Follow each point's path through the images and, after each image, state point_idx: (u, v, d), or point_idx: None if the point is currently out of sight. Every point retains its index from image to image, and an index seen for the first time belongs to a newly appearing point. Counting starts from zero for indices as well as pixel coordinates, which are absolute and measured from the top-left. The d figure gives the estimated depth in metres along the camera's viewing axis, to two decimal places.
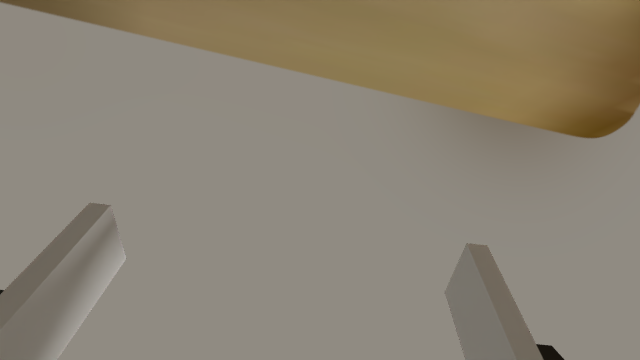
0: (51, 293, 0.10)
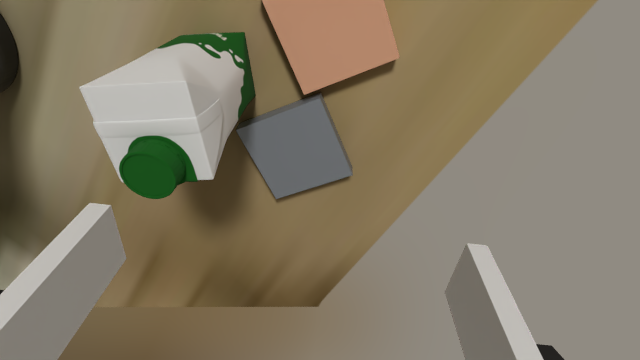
0: (51, 293, 0.10)
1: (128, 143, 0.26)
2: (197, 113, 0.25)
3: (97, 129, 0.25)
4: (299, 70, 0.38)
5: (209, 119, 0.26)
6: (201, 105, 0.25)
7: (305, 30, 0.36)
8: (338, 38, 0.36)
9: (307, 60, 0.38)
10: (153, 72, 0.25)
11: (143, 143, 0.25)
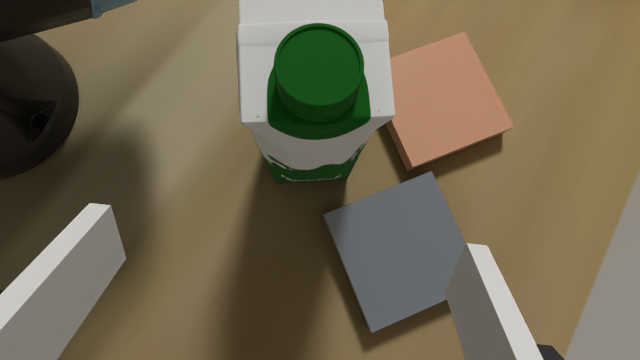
0: (51, 293, 0.10)
1: None
2: None
3: (241, 33, 0.18)
4: (407, 139, 0.34)
5: None
6: None
7: (413, 99, 0.35)
8: (447, 107, 0.35)
9: (415, 128, 0.34)
10: None
11: None
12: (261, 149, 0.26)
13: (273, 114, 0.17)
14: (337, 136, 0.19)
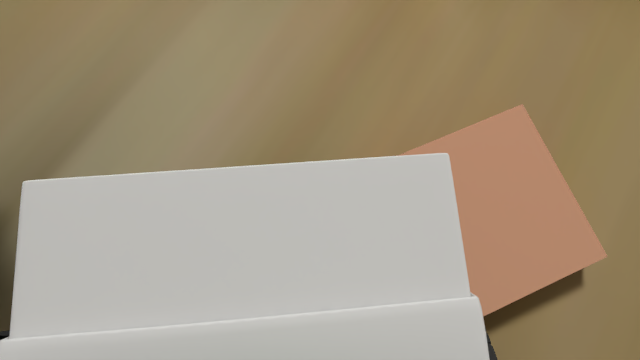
0: None
1: None
2: (464, 285, 0.06)
3: None
4: None
5: None
6: None
7: None
8: (503, 227, 0.22)
9: None
10: None
11: None
12: None
13: None
14: None
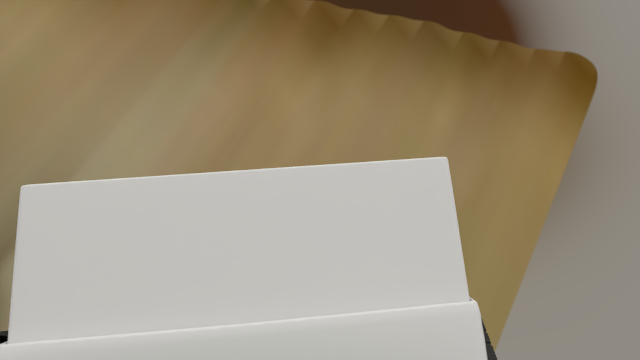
0: None
1: None
2: (463, 289, 0.06)
3: None
4: None
5: None
6: None
7: None
8: None
9: None
10: None
11: None
12: None
13: None
14: None
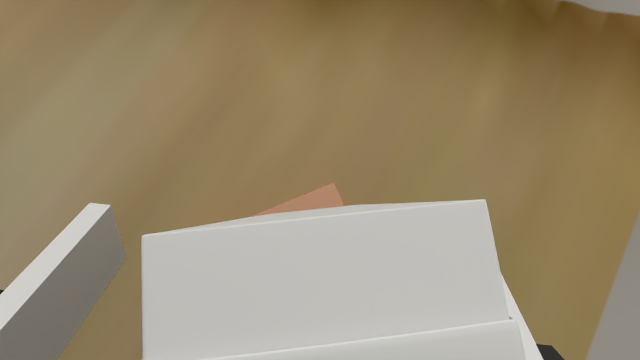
0: (52, 293, 0.10)
1: None
2: (502, 309, 0.08)
3: None
4: None
5: None
6: None
7: None
8: None
9: None
10: (348, 209, 0.09)
11: None
12: None
13: None
14: None
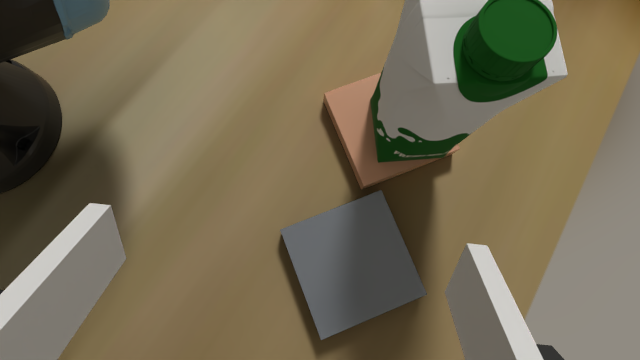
0: (51, 293, 0.10)
1: (459, 25, 0.20)
2: None
3: (424, 6, 0.20)
4: (359, 160, 0.37)
5: None
6: None
7: (366, 123, 0.37)
8: None
9: (367, 150, 0.37)
10: None
11: None
12: (391, 123, 0.28)
13: (461, 76, 0.19)
14: (503, 98, 0.21)
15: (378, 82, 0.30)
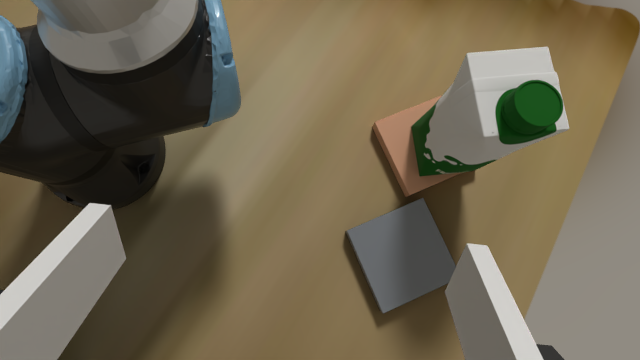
0: (51, 293, 0.10)
1: (498, 96, 0.30)
2: None
3: (475, 84, 0.30)
4: (405, 175, 0.47)
5: None
6: None
7: (408, 145, 0.48)
8: None
9: (410, 167, 0.47)
10: None
11: None
12: (439, 152, 0.38)
13: (501, 131, 0.29)
14: (526, 142, 0.31)
15: (427, 120, 0.40)
